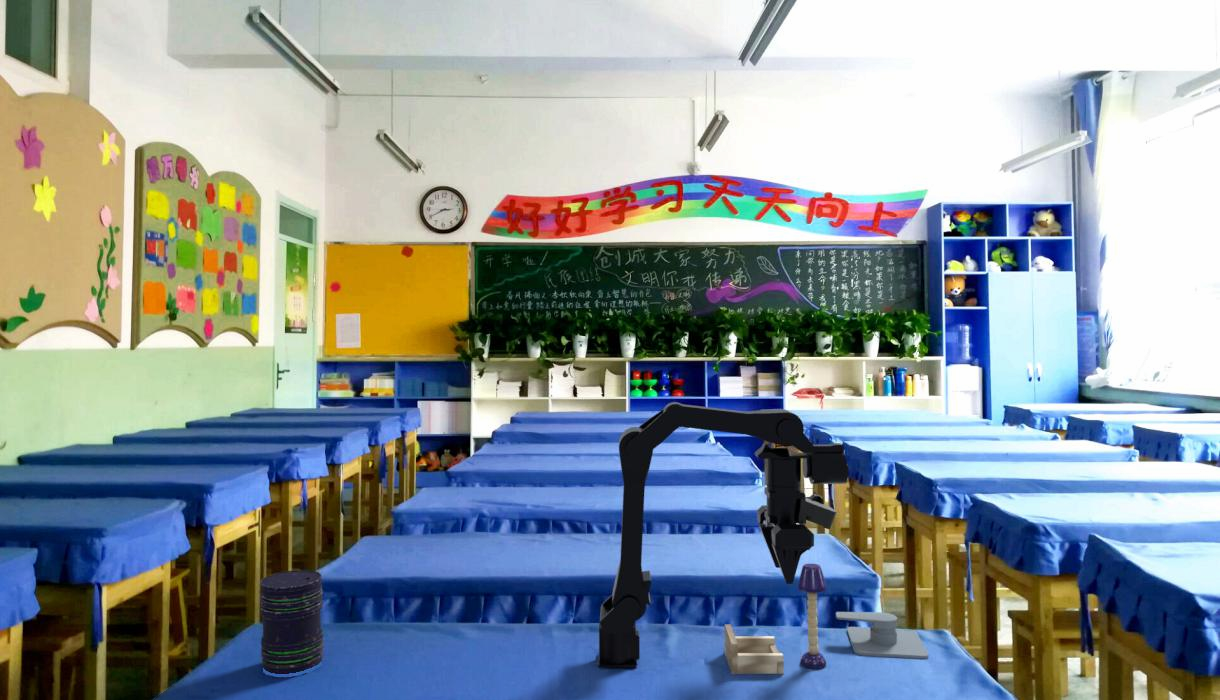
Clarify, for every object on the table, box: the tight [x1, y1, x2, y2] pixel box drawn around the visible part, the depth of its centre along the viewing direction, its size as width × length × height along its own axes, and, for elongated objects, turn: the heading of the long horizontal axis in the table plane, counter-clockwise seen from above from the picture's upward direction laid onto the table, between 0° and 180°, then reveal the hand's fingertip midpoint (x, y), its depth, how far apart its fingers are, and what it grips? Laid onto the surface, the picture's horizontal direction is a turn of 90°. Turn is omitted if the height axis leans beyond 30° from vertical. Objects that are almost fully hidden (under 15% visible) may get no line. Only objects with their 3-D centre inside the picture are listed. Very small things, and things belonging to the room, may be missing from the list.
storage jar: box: [259, 569, 324, 674], centre depth 141 cm, size 10×10×15 cm
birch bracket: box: [724, 623, 785, 675], centre depth 141 cm, size 8×9×5 cm
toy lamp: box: [797, 563, 827, 670], centre depth 141 cm, size 5×5×17 cm
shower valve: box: [835, 611, 930, 660], centre depth 150 cm, size 12×6×15 cm
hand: (783, 575), depth 142 cm, fingers open, 9 cm apart
